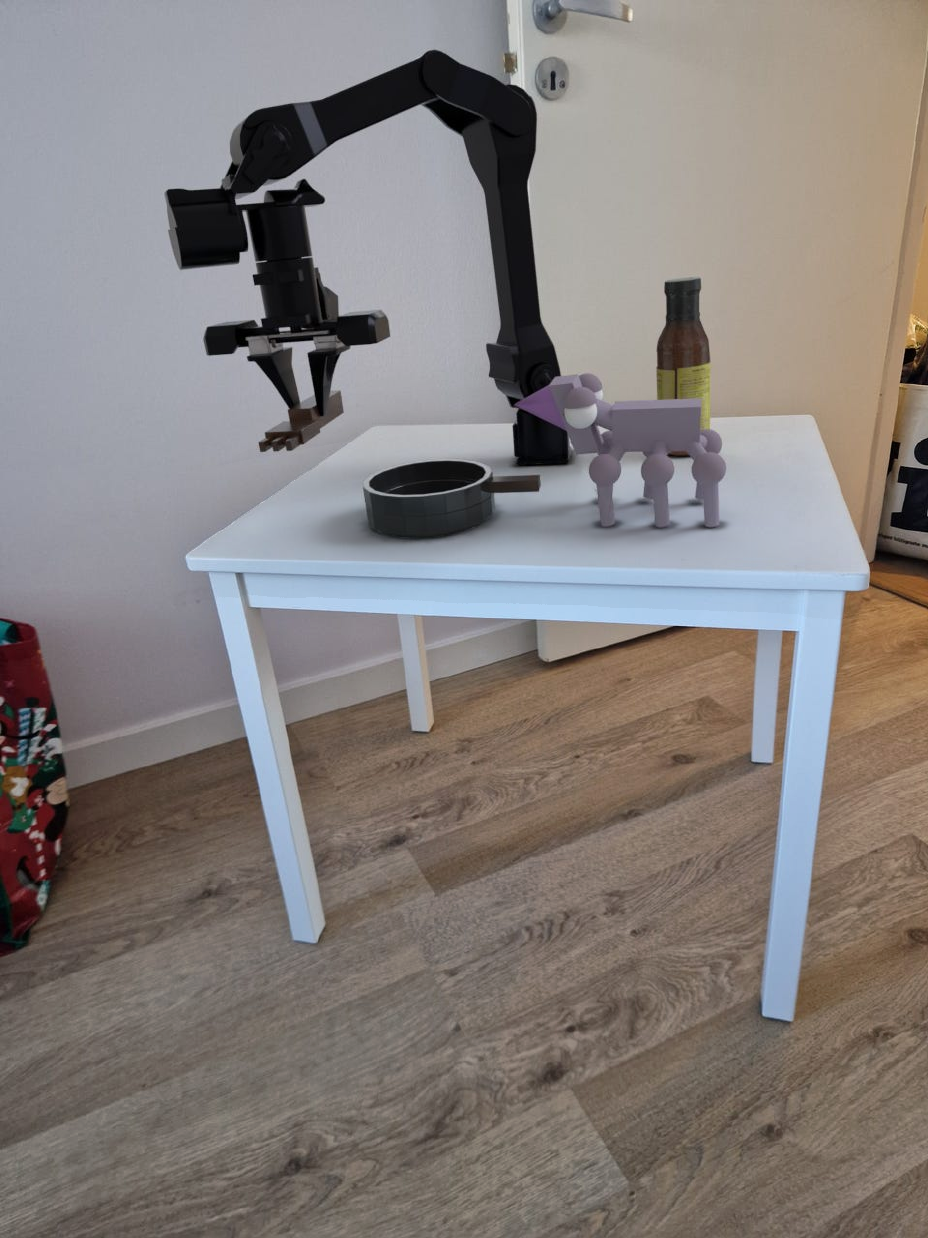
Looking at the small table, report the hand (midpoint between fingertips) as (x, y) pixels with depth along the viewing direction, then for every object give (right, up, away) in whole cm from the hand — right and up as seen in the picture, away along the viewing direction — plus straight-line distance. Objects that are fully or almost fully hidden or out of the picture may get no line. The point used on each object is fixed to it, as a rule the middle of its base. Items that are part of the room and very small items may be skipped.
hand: (311, 416), depth 86 cm
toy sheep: (+32, -12, -7) cm, 35 cm away
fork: (0, -2, -1) cm, 2 cm away
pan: (+13, -12, -3) cm, 18 cm away
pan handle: (+22, -9, -6) cm, 24 cm away
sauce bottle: (+44, -1, +12) cm, 46 cm away
